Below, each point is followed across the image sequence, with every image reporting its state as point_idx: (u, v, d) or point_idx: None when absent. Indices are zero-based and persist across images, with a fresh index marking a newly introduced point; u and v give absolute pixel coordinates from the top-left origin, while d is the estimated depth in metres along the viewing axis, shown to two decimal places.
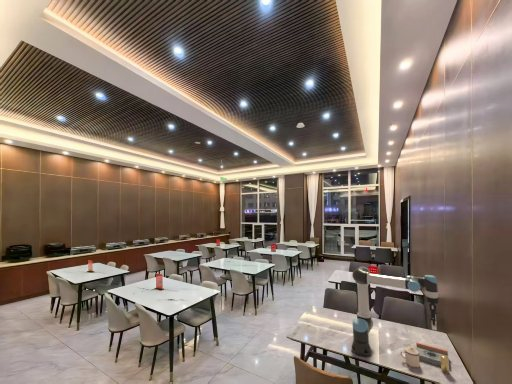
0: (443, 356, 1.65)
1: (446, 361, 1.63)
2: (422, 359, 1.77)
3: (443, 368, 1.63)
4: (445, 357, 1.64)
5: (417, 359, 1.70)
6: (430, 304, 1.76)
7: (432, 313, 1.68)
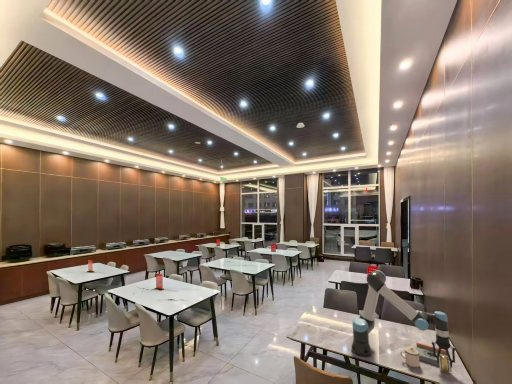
0: (443, 356, 1.65)
1: (446, 361, 1.63)
2: (422, 359, 1.77)
3: (443, 368, 1.63)
4: (445, 357, 1.64)
5: (417, 359, 1.70)
6: None
7: (433, 349, 1.69)
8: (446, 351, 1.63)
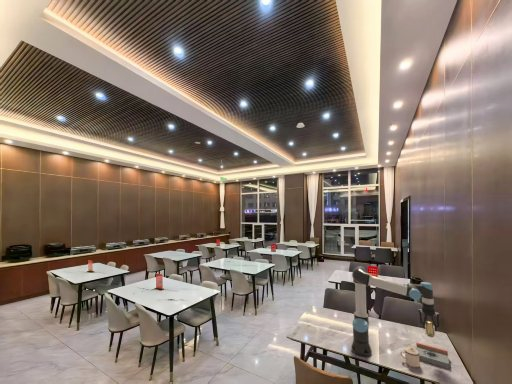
0: (428, 322, 1.82)
1: (431, 326, 1.79)
2: (422, 359, 1.77)
3: (428, 332, 1.79)
4: (430, 322, 1.80)
5: (417, 359, 1.70)
6: None
7: None
8: (431, 317, 1.79)
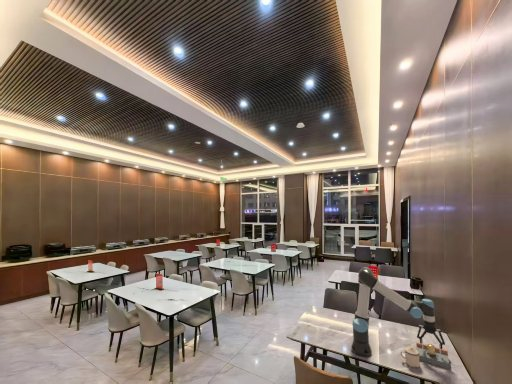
0: (430, 345, 1.80)
1: (433, 349, 1.77)
2: (422, 359, 1.77)
3: None
4: (432, 346, 1.79)
5: (417, 359, 1.70)
6: None
7: (418, 331, 1.85)
8: (434, 335, 1.78)
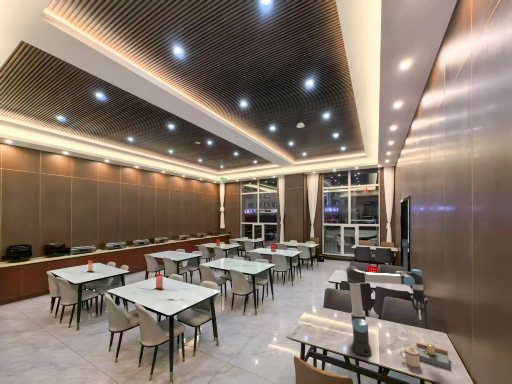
0: (430, 345, 1.80)
1: (432, 349, 1.77)
2: (422, 359, 1.77)
3: None
4: (432, 346, 1.79)
5: (417, 359, 1.70)
6: None
7: (412, 302, 1.93)
8: (420, 302, 1.89)
